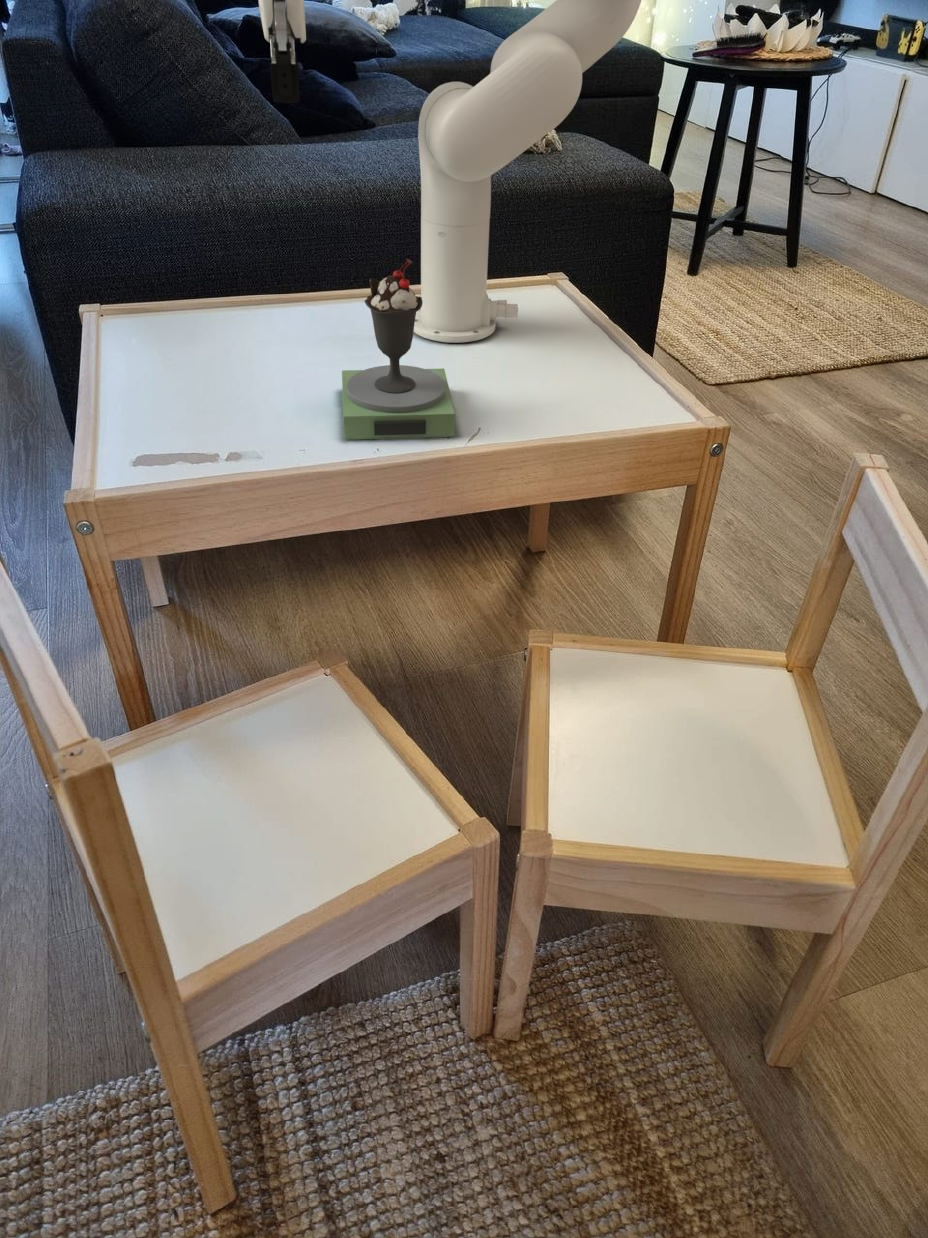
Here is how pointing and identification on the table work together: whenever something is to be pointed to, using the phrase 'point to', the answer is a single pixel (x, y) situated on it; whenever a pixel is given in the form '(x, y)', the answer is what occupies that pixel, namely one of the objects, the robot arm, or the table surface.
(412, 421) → the scale
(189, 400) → the table surface
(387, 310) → the sundae
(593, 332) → the table surface
